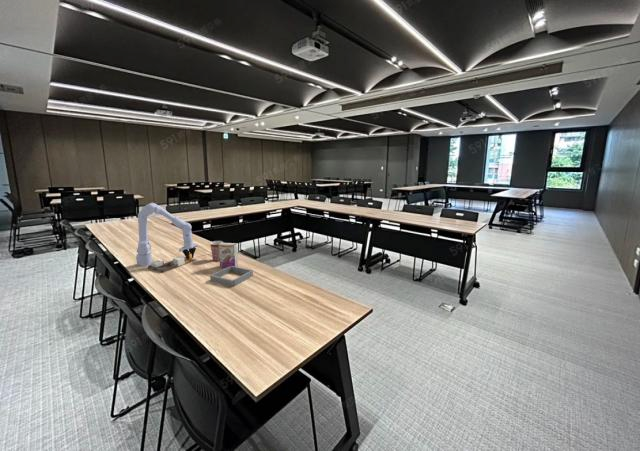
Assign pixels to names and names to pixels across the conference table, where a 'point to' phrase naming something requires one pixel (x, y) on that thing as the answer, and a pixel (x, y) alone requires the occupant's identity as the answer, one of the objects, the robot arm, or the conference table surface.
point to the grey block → (156, 263)
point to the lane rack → (168, 266)
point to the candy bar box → (228, 254)
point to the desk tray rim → (218, 279)
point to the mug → (215, 250)
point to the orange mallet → (181, 260)
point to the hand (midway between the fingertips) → (189, 258)
